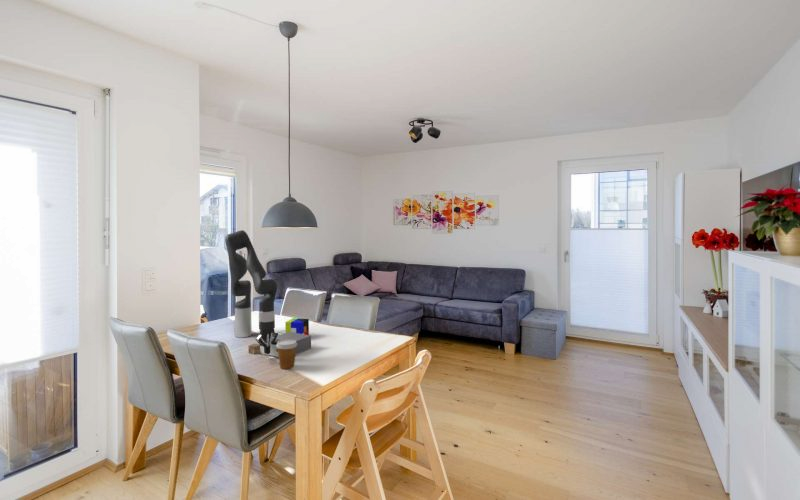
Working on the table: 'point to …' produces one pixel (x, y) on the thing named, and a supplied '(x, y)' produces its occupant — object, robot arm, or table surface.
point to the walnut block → (254, 348)
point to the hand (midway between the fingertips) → (267, 353)
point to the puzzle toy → (298, 326)
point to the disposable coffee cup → (286, 353)
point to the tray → (273, 350)
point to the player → (301, 340)
